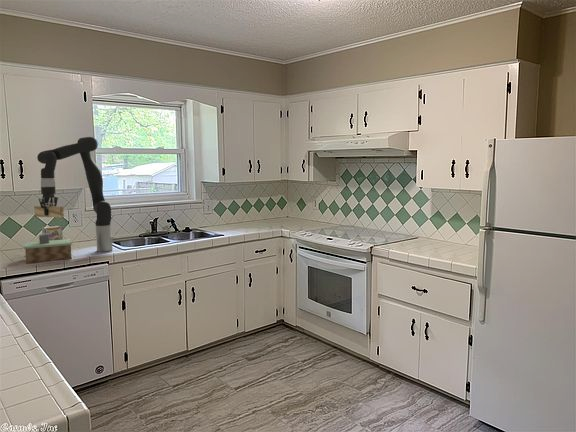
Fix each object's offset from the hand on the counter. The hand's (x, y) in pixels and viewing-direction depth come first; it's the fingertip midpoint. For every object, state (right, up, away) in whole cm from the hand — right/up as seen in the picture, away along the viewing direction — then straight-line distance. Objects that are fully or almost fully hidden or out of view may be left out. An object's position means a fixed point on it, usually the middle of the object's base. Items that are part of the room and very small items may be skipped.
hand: (49, 214), depth 264 cm
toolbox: (-6, -27, +11) cm, 30 cm away
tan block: (0, -1, 0) cm, 1 cm away
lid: (-6, -18, +9) cm, 21 cm away
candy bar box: (-15, -24, +34) cm, 44 cm away
